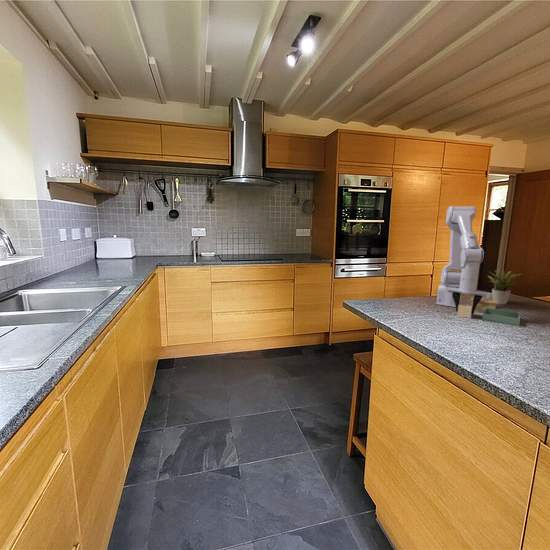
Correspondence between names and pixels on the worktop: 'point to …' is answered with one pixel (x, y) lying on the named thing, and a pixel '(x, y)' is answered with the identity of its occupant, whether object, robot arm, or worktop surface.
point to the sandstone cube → (464, 310)
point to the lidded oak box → (484, 304)
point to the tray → (501, 316)
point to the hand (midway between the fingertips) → (464, 312)
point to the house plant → (501, 287)
